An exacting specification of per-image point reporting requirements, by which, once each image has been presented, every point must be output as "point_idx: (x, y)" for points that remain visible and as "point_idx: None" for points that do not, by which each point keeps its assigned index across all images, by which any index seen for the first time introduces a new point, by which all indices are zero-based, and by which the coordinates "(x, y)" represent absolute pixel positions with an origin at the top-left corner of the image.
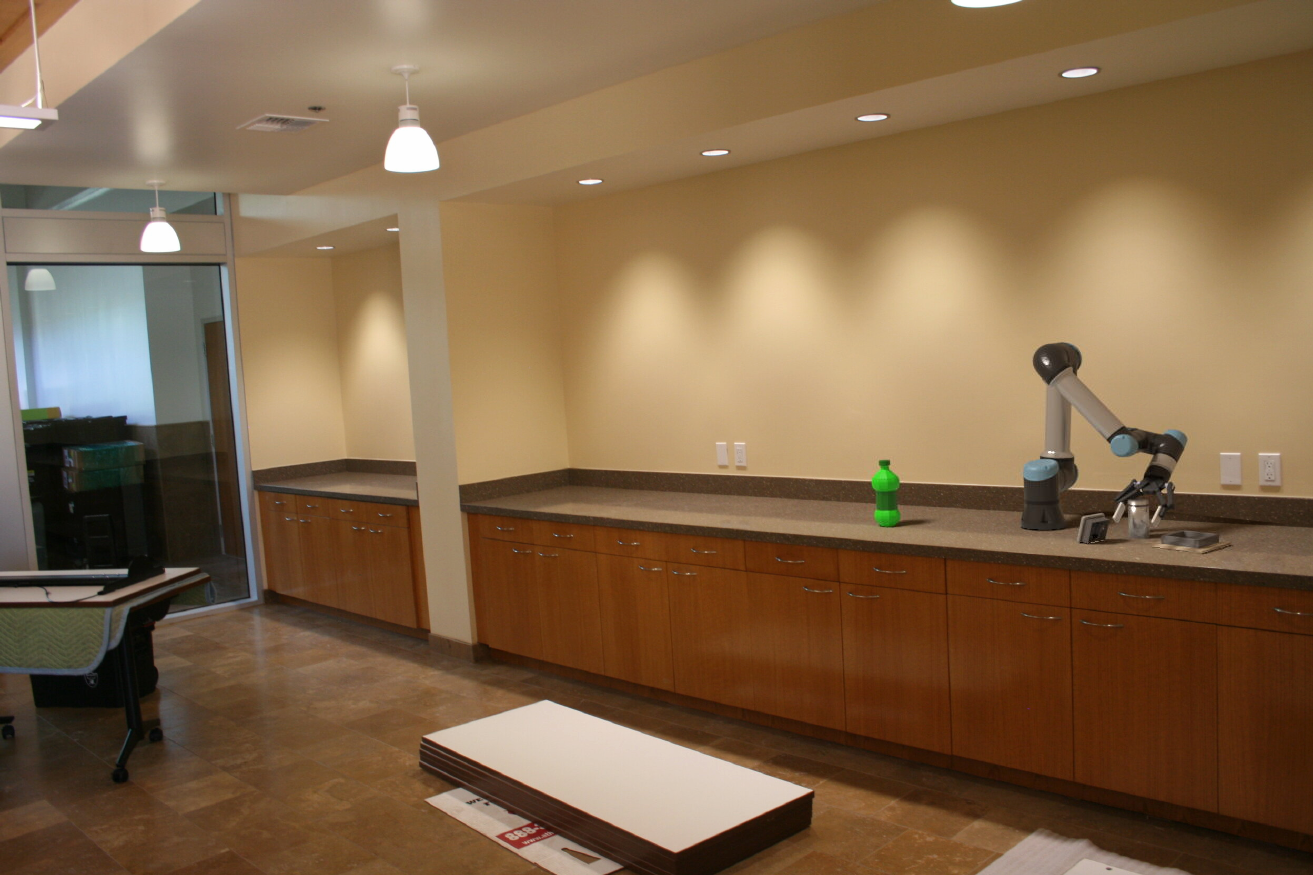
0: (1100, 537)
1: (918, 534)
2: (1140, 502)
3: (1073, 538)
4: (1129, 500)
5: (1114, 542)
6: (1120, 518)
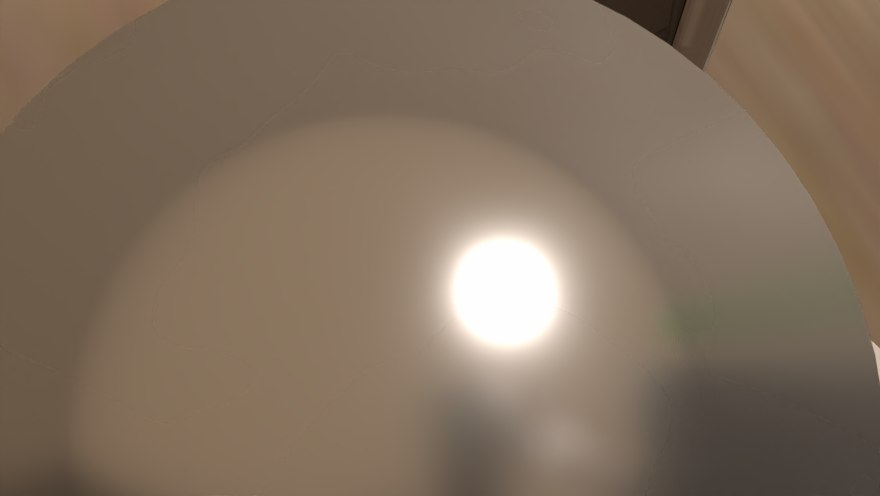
0: None
1: None
2: (171, 8)
3: (862, 51)
4: (767, 231)
5: None
6: None
